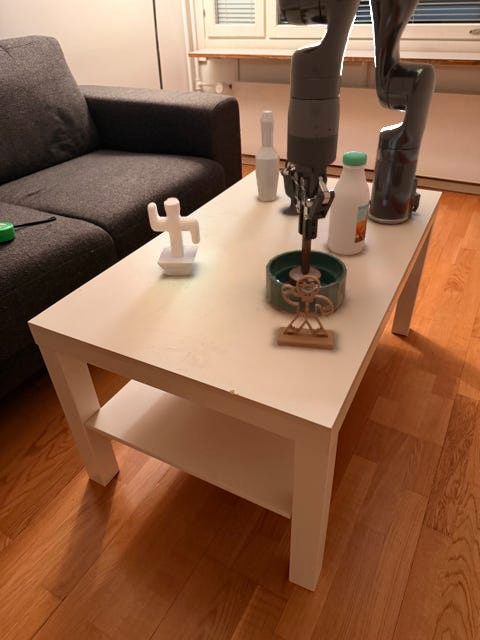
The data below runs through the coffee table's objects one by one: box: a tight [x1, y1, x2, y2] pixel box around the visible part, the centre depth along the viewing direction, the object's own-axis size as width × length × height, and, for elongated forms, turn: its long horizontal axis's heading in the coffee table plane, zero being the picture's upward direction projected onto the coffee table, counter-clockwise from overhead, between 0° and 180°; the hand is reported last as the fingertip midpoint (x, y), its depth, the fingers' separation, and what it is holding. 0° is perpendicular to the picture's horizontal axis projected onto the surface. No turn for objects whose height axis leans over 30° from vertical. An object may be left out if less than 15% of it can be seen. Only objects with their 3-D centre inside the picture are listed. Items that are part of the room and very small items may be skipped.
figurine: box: [147, 197, 201, 276], centre depth 91 cm, size 7×9×15 cm
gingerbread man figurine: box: [276, 275, 335, 350], centre depth 72 cm, size 9×4×12 cm, turn 80°
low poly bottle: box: [254, 110, 281, 202], centre depth 120 cm, size 6×6×22 cm
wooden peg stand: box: [289, 208, 321, 288], centre depth 80 cm, size 6×6×15 cm
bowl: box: [265, 249, 348, 316], centre depth 84 cm, size 14×14×6 cm
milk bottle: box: [327, 150, 371, 256], centre depth 95 cm, size 8×8×20 cm
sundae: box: [279, 159, 299, 216], centre depth 114 cm, size 7×7×15 cm
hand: (307, 235), depth 78 cm, fingers closed on wooden peg stand
